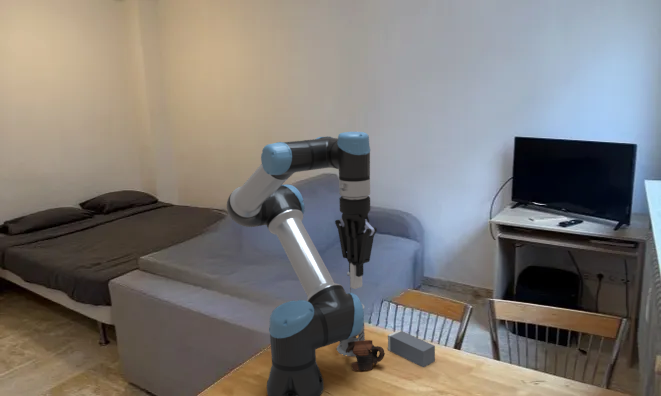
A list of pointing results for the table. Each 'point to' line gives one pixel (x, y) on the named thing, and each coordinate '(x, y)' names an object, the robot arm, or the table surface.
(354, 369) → the pottery mug
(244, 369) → the table surface
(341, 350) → the french press
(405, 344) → the grey rectangular block
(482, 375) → the table surface
